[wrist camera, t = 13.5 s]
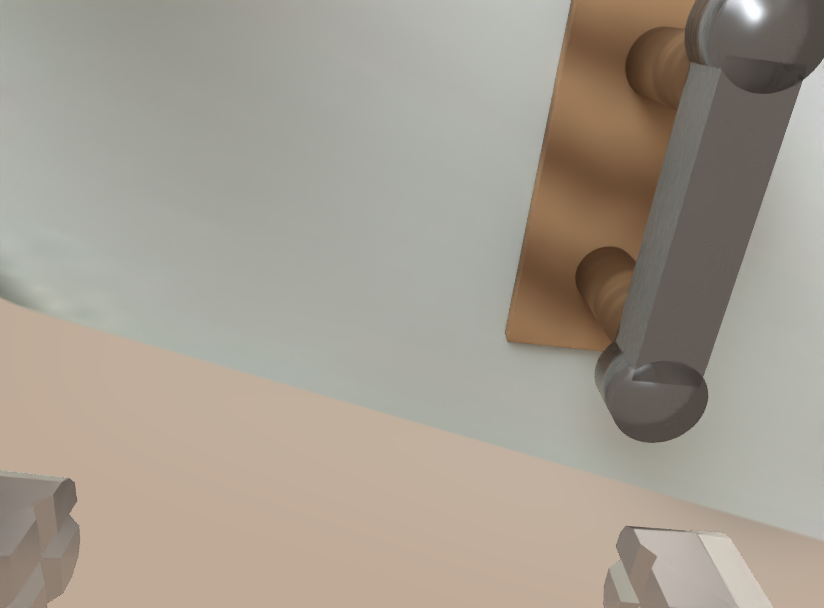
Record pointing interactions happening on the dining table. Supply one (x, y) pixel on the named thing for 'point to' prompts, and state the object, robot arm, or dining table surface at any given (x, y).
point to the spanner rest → (598, 169)
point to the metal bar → (706, 205)
